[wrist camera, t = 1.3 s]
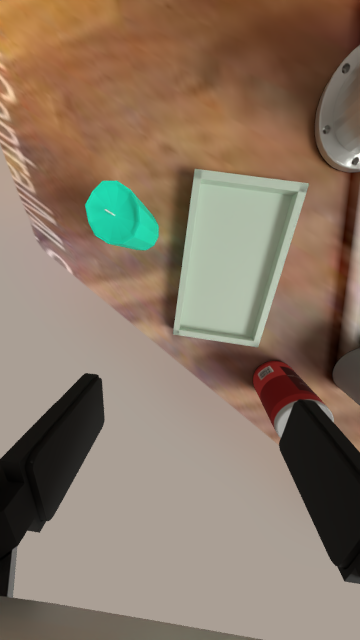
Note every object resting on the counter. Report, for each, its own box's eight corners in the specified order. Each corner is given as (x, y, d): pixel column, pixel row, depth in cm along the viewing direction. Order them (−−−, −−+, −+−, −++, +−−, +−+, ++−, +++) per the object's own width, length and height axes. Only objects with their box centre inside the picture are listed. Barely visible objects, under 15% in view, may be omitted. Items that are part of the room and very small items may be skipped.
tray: (194, 177, 26) (194, 168, 23) (298, 190, 25) (309, 183, 23) (174, 329, 33) (172, 334, 31) (253, 341, 33) (258, 347, 30)
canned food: (248, 391, 36) (270, 443, 26) (255, 357, 34) (283, 399, 23) (286, 394, 36) (323, 448, 26) (296, 361, 34) (343, 405, 23)
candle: (153, 204, 27) (124, 163, 16) (163, 245, 29) (143, 234, 17) (117, 215, 28) (65, 183, 16) (129, 254, 30) (89, 249, 18)
